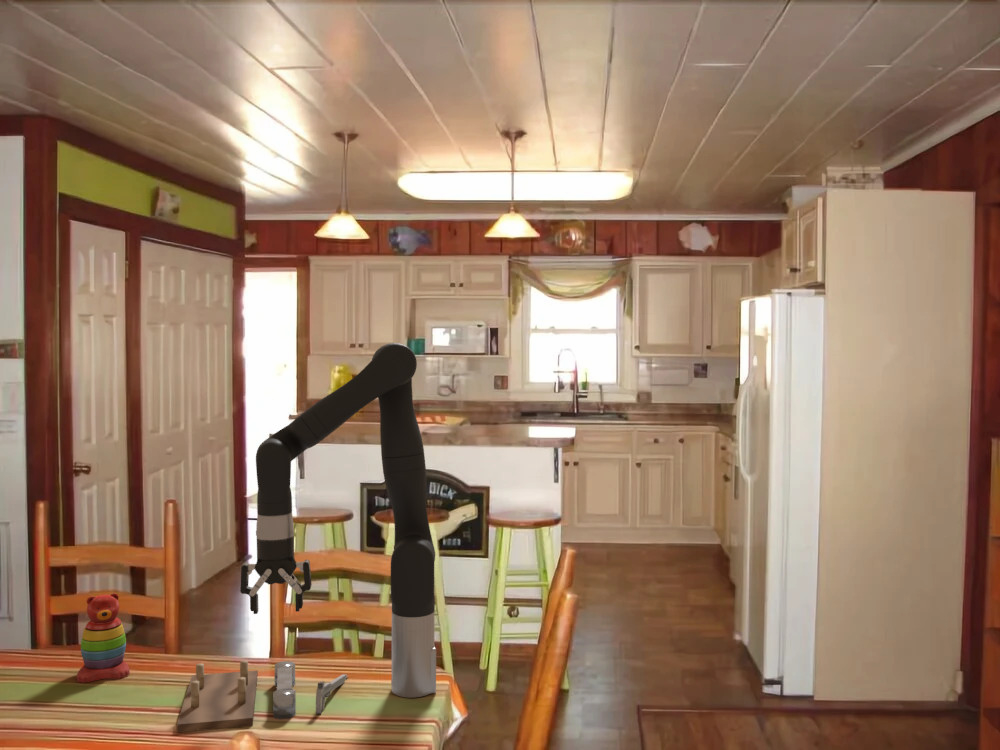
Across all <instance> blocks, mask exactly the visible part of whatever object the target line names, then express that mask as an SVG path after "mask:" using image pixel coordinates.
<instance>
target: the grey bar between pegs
mask: <svg viewBox="0 0 1000 750" xmlns="http://www.w3.org/2000/svg"><path fill="white" fill-rule="evenodd" d="M294 685H295V686H296V663H295V662H294V661H288V660H287V661H286V660H285V661H284V660H283V661H279V662H276V663H275V664H274V687H275V686H276V687H277V688H276V687H275V688H276V690H275V691H273V692H272V694H273V695H272V702H273V703H272V717H273V718H274V719H278V720H287V719H292V718H293V717H294V716H296V714H297V713H296V711H297V709H296V708H297V706H296V705H297V704H296V703H297V702H296V698H297V697H296V695H297V692H296V690H295V689H294V688H293V687H295V686H294ZM292 686H293V687H292Z"/></svg>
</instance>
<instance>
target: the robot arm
mask: <svg viewBox="0 0 1000 750" xmlns="http://www.w3.org/2000/svg"><path fill="white" fill-rule="evenodd" d="M417 366H418V363H417V357H416V354H415V353H414V351H413V350H412V349H411V348H410V347H409V346H407V345H405V344H403V343H399V342H392V343H388V344H383V345H382V346H380V347H379V348H378V349H377V350H376V351H375V352H374V353H373V356H372V358H371V361H370V362H369V363H368V364H367V365H365V367H364V368H363V369H362V370H361V371H360V372H359V373H357V375H354V377H352V378H351V379H350V380H349V381H347V382H346V383H344V384H343V385H342V386H340V387H338V388H337V389H336V390H333V391H332V392H331V393H329V394H327V395H326V396H324V397H323V398H322V399H320V400H318V401H317V402H316V403H314V404H313V405H311V406H310V407H309V408H307V409H306V410H304V412H302V413H301V414H299V415H298V416H297V417H295V419H294V420H293V421H292V422H290V423H289V424H287V426H285V427H283V428H281V429H279V430H278V431H276V432H275V433H273V434H272V435H271V436H269V437H268V438H266V439H265V440H264V441H262V443H260V445H259V446H258V447H257V450H256V454H255V466H256V467H255V468H256V480H257V481H256V482H257V497H256V500H257V501H256V505H257V506H256V507H257V508H256V509H257V510H256V512H257V513H256V514H257V517H256V530H255V536H256V563H249V562H244V563H243V564H242V565H241V568H240V569H241V570H240V590H239V592H240V593H241V594H242V595H248V597H249V605H250V606H249V607H250V608H249V609H250V611H251V612H253V614H254V615H258V613H259V593H258V591H260V589H261V588H262V587H263V586H264V583H266V584H267V585H273V584H274V585H275V584H278V585H279V584H282V585H283V584H285V583H287V584H288V586H290V588H291V589H293V591H294V592H295V594H294V597H295V600H294V601H295V603H294V604H295V612H300V611H301V609H303V606H304V593H305V592H306V591H310V590H311V588H312V586H313V585H312V573H311V562H310V560H309V559H305V560H304V561H296V559H295V536H294V535H295V532H294V531H295V530H294V529H295V525H294V524H295V523H294V518H293V497H292V489H291V475H292V471H291V470H292V461H294V460H295V459H296V458H298V457H299V456H300V455H301V454H303V453H304V452H305V451H306V450H308V449H310V448H313V447H314V446H316V445H318V444H319V443H320V442H322V441H323V440H324V439H325V438H327V437H328V436H330V435H331V434H332V433H333V432H334V431H336V430H337V429H338V428H340V427H341V426H342V425H343V424H345V422H347V421H348V420H350V419H351V418H352V417H353V416H354V415H355V414H357V413H358V412H359V411H360V410H362V409H363V408H364V407H366V406H367V405H369V404H370V403H371V402H373V401H374V400H376V399H378V404H379V414H380V415H379V416H380V418H379V419H380V420H379V421H380V422H379V425H380V426H379V430H380V431H379V432H380V433H379V434H380V450H381V451H380V453H381V454H380V455H381V462H382V463H381V464H382V465H381V466H382V473H383V474H382V475H383V478H384V479H383V480H384V484H385V488H386V491H387V496H388V499H389V502H390V505H391V507H392V508H391V509H392V512H393V522H394V546H393V547H394V548H393V551H392V554H391V558H390V601H391V682H390V683H391V692H392V694H394V695H395V696H398V697H402V698H409V699H410V698H420V697H425V696H428V695H430V694H436V692H437V648H436V646H435V616H436V615H435V608H436V606H435V603H436V602H435V601H436V600H435V599H436V598H435V560H436V550H435V546H434V541H433V537H432V533H431V528H430V524H429V518H428V511H427V493H428V492H427V490H428V489H427V466H426V458H425V450H424V449H425V448H424V444H423V439H422V435H421V430H420V427H419V422H418V420H417V416H416V413H415V409H414V402H413V400H414V399H413V382H412V381H413V377H414V376H415V374H416V371H417ZM297 568H298V569H299V572H301V573H303V582H304V583H303V584H301V582H299V580H298V579H297V577H296V576H295V575H294V572H295V570H296V569H297ZM254 570H255V572H256V573H257V575H258V576H259V578H258V579H257V581H256V582H255V584H254V585H253V586H252V587H251V586H249V575H251V574H252V573H253V571H254Z"/></svg>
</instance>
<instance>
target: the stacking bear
mask: <svg viewBox="0 0 1000 750" xmlns="http://www.w3.org/2000/svg"><path fill="white" fill-rule="evenodd" d="M86 605H87V608H86V611H87V612H86V613H87V617H88V619H89V621H88V622H87V623H86V625H85V627H84V628H83V632H82V636H81V641H80V654H81V657H82V662H83V665H82V667H80V668H79V670H78V671H77V673H76V682H77V683H82V684H83V683H91V682H94V681H99V680H105V679H114V680H115V679H116V680H117V679H118V680H119V679H123V678H126V677H127V676H129V675H130V673H131V672H130V667H129V665H128V663H127V662H126V661H124V658H125V653H126V652H125V651H126V647H127V638H126V637H127V636H126V632H125V629H124V625H123V623H122V620H121V619H120V618H118V615H119V612H120V603H119V595H118V594H117V593H111V594H99V595H97V596H92V595H91V596H89V597H88V598H86Z"/></svg>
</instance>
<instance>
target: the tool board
mask: <svg viewBox="0 0 1000 750" xmlns="http://www.w3.org/2000/svg"><path fill="white" fill-rule="evenodd" d="M239 662H240V663H239V668H240V670H239V671H231V672H219V673H207V674H205V663H196V665H195V674H194V675H193V674H192V675H191V677H190V681H189V684H188V687H187V689H186V694H185V697H184V700H183V703H182V707H181V710H180V712H179V713H180V714H179V716H178V720H177V723H176V733H182V732H183V733H185V732H193V731H194V732H195V731H196V732H197V731H205V730H215V729H216V730H217V729H225V728H226V729H228V728H229V729H231V728H239V727H249V726H250V727H251V726H252V727H253V724H254V717H255V716H254V715H255V708H256V705H255V704H256V697H257V696H256V695H257V688H256V687H257V685H258V678H257V677H258V671H259V670H249V661H248V660H244V659H243V660H240V661H239Z"/></svg>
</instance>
